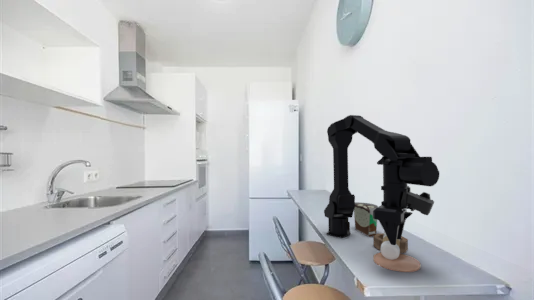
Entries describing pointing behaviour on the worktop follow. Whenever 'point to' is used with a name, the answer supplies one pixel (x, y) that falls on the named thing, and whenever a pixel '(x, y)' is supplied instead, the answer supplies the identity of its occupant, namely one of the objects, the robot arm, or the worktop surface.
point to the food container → (365, 218)
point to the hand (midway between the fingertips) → (396, 241)
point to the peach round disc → (398, 263)
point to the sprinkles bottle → (390, 248)
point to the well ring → (379, 239)
